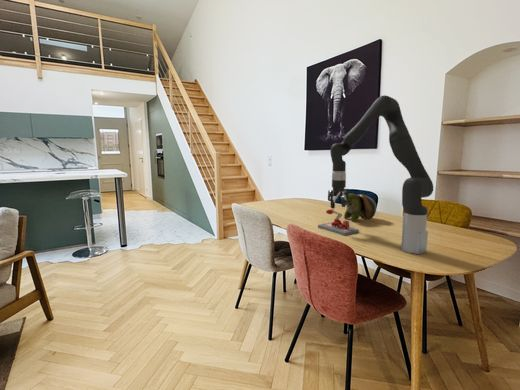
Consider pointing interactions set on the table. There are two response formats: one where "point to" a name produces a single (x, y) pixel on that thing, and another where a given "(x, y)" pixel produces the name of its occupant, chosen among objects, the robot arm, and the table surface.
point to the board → (338, 229)
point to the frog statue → (359, 207)
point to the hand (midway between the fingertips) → (338, 207)
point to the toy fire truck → (337, 222)
